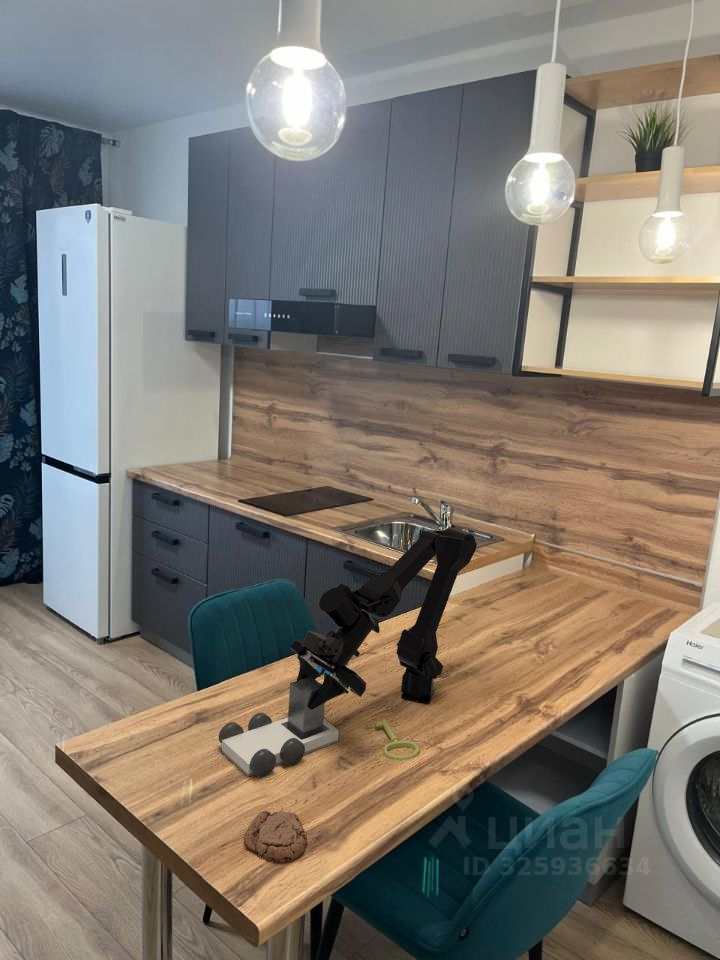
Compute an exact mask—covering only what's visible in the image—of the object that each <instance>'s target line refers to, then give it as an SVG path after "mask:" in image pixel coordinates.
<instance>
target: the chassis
mask: <svg viewBox="0 0 720 960" xmlns="http://www.w3.org/2000/svg"><path fill="white" fill-rule="evenodd" d="M248 721H249V722H248V725H247V731H245V730H244V728H243V727H242V726H241V725H240V724H238V722H235V721H230V722H228V723H225V725H223V727H222V728H221V729H220V731H219V732H218V733H219V734H218V741H219V743H220V745H221V754H223V755H224V756H225V757H226V758H227V759H228V760H230V761H231V763H233V764H234V765H235V766H236V767H237V768H238V769H239V770H240V771H241V772H242V773H243V774H245V776H246V777H248V778H249V777H252V776H254V775H255V776H256V777H258V778H265V777H267V776H268V775H270V774H271V773H272V772H273V770H274V769H275V767H277V766H279V765H280V766H281V765H282V764H286V765H287V766H291V767H292V766H295V765H297V764H298V763H299V762H301V760H302V759H303V757H304V755H307V754H309V753H313V752H315V751H318V750H321V749H323V748H326V747H328V746H330V745H332V744H333V745H334V744H335V743H337V742H339V729H337V727H335V726H334V725H332V724H331V723H329V722H328V721H326V720H325V719H324V721H323V732H321V733H319V734H316V735H313V736H311V737H308V738H306V739H303V740H301V739H299V738H298V737H297V736H296V735H294V734H293V733H292V732H290V731H289V730H288V729H287V727H288V717H286V718H282V719H279V720H277V721H274V722H273V720H272V718H271V717H270V716H269V715H267V714H266V713H264V712H258V713H255V714H254V715H253V716H252V717H251V718H250V720H248Z"/></svg>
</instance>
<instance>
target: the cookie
mask: <svg viewBox="0 0 720 960" xmlns="http://www.w3.org/2000/svg"><path fill="white" fill-rule="evenodd" d="M249 823H250V824H249V826H248V827H247V829H246V831H245V833H244V835H243V841H244V842H245V846H246V847H247V849H248V850H251V851H253V852H255V853H257V857H258V858H261V859H263V861H264V860H265V861H268V862H270V861H274V862H275V863H281V864H284V863H286V862H293V861H294V860H296V859H297V858H299V857H301V855H303V854H304V851H305V849H306V844H307V842H308V835H307V832H306V831H305V829H304V827H303V822H302V820H300V817H299V816H298V815H297V814H296V813H294V812H290V811H284V810H283V811H282V810H279V811H273V813H271V812H270V811H268V810H262V811H260V812H259V813H257V814H256V815H255V817H254V818H253V819H252V821H251V822H249Z"/></svg>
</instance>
